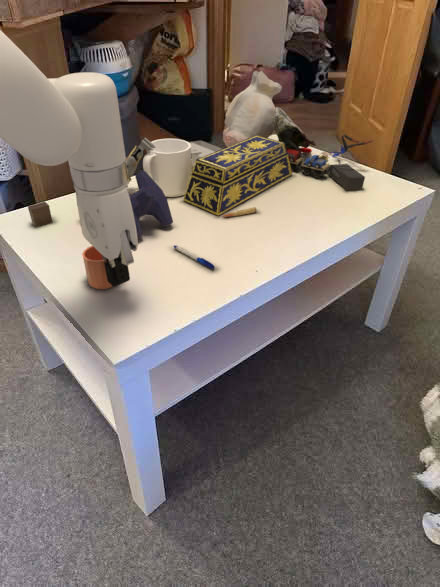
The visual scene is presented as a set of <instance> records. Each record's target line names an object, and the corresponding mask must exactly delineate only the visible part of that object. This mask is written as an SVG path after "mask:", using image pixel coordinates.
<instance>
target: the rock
mask: <svg viewBox="0 0 440 587" xmlns="http://www.w3.org/2000/svg"><path fill="white" fill-rule="evenodd" d="M272 126H273V128H274V131H275V134H277V135H276V136H277V139H278V140H277V141H281V142H285V146H286V147H287V148H290V149H294V150H297V151H299V152H301V151H300V149H299V148H309V147H310V146H313V147H315V146H316V145H317V144H316V142H315V141H314V140H311V139H309V138H308V137H307V136H306V134H305V133H304V132H303V130H302V129H301V127H299V126H298V125H297V124H295V123H294V122H293V120H292V119H291V118H290V116H289V115H288V114H287V113H286V112H285V111H284V110H283V109H282V108H281V107H278V106H275V111H274V116H273V119H272ZM302 154H303V152H301V155H302Z"/></svg>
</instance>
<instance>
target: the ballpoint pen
mask: <svg viewBox="0 0 440 587" xmlns="http://www.w3.org/2000/svg"><path fill="white" fill-rule="evenodd" d="M173 248H174V249H175V250H177V251H179V252H180V253H183V254H184V255H186V256H187V257H190V258H191V259H193V260H195V261H197V262H198V263H200V264H202V265H203V266H205V267H207V268H209V269H211V270H214V269H215V268H216V267H215V265H214V264H213V263H212V262H210V261H209V260H206V259H205V258H203V257H198V256H197V255H196V254H193V253H191V252H189V251H188V250H186V249H184V248H182V247H180V246H178V245H173Z"/></svg>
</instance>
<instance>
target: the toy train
mask: <svg viewBox="0 0 440 587" xmlns="http://www.w3.org/2000/svg"><path fill="white" fill-rule="evenodd" d="M301 153H302V152H299V151H297V150H294V149H288V150H287V154H288V158H289V163H290V167H291V171H295V170H296V169H297V170H298V169H299V168H300V169H301V170H302V172H303V174H304V175H307V176H308V175H310V174H313V176H314V178H316V179H319V178H321V176H325V175H328V173H330V170H327V168H329V166H330V165H331V164H329V163H326V160H323V159H319V155H320V154H314V155H312V156H311V157H307V158H306V159H305V161H304V157H303V156H301V155H302V154H301Z"/></svg>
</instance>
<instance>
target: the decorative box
mask: <svg viewBox="0 0 440 587" xmlns="http://www.w3.org/2000/svg"><path fill="white" fill-rule="evenodd" d="M291 176H293V172H292V170H291V167H290V163H289V158H288V154H287V150H286V146H285V142H281V141H279V140H277V139H272V138H270V137H268V138H265V137H261V136H258V135H255V136H253V137H250V138H248V139H246V140H243V141H241V142H238V143H236V144H233V145H231V146H228V147H227V146H226V147H223V148H221V150H219V151H216V152H214V153H211V154H209V155H206V156H204V157H201V158H199V159H196V161H195V164H194V167H192V174H191V177H190V180H189V184H188V187H187V190H186V193H185V194H184V195H183V199H182V200H183V202H184V203H187V204H190V205H192V206H195V207H196V208H199V209H201V210H204V211H206V212H209V213H211V214H212V215H216V216H220V215H223V214H224V213H226V212H228V211H229V210H231V209H233V208H236V207H237V206H239V205H241V204H242V203H244V202H245V201H248V200H250V199H251V198H253V197H255V196H257V195H258V194H259V195H260V193H262V192H264V191H266V190H268V189H269V188H271V187H273V186H275V185H277V184H278V183H280V182H283V181H284V180H286V179H287V178H290V177H291Z"/></svg>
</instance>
